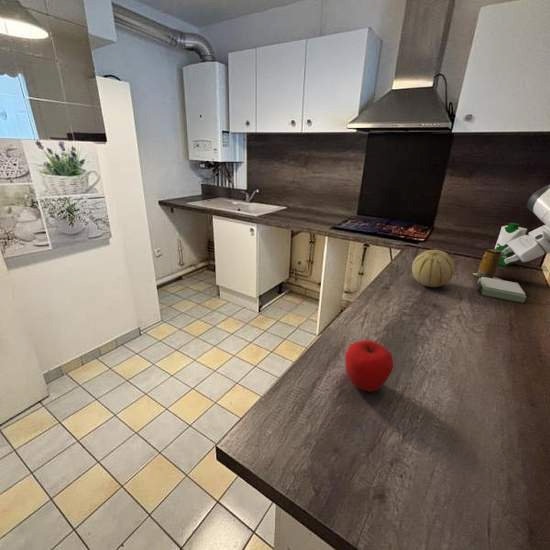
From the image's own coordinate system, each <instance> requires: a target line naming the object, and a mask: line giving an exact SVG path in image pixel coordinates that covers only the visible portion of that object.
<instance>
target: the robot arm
mask: <svg viewBox="0 0 550 550" xmlns="http://www.w3.org/2000/svg"><path fill="white" fill-rule="evenodd" d="M526 207H527V208H526V209H527V210H529V211H530V212H531V213H532V214H534V215H535V216H536V217H537V218H538V219H539V220H540V221H541V222H542V223H543V225H541V226H539V227H537V228H535V229H533V230H531V231H529V232H528V233H527V234H525V235H523V236H521V237H518V238H516V239H514V240H512V241H510V242H508V243H507V245H508V246H509V247H507V248H505V249H504V250H503V251H501V257H503V256H505V255H506V254H507V253H509V252H512V251H513V252H514V253H515V255H513V256H511V257H509V258H508V257H507V258H505V259H503V261H504V262H505V263H506V264H507V263H510V262H513V261H514V262H517V261H519V260H520V261H521V262H522V263H526V262H527V263H528V262H531V261H533V260H535V259H537V258H538V259H539V257H542V256H544V255H545V254H546V255H548V254H550V183H549V184H548V185H545V186H544V187H542V188H540V189H538V190H536V191H535V192H533V193H532V194H531V195H530V196H529V198H528V201H527V203H526Z"/></svg>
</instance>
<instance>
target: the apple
mask: <svg viewBox="0 0 550 550" xmlns="http://www.w3.org/2000/svg"><path fill="white" fill-rule="evenodd" d="M344 355H345V357H344V360H345V371H346V374H347V377H348V379H349V381H350V382H351V384H352V385H354V386H355V387H356V388H358V389H359V390H362V391H364V392H365V391H366V392H369V393H370V392H376V391H378V390H380V389H381V388H382V386H383V385H384V384H385V383H386V382H387V381H388V379H389V377H390V375H391V374H392V371H393V369H394V360H393V355H392V354H391V352H389V351H388V350H387V349H386V348H385V347H384V346H383V345H382V344H380V343H378V342H376V341H374V340H370V339H369V340H367V339H366V340H358V341H356V342H353V343H351V344H350V345H349V347H348V349H347V350H346V352H345V354H344Z"/></svg>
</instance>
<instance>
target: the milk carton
mask: <svg viewBox="0 0 550 550" xmlns="http://www.w3.org/2000/svg"><path fill="white" fill-rule="evenodd" d="M527 231H528V228H525V227H521V226H520V223H516V222H509V223H508V224H507V225H502V226H501V229H500V232H499V235H498V237H497V240H496V244H495V246H494V249H496V250H499V251H503V250H504V249H505V248H507V247H509V246H508V245H507V243H508V242H510V241H512V240H514V239H516V238H518V237H521V236H523V235H526V233H527ZM513 255H515V253H514V252H513V251H512V252H509V253H507V254H506V255H505V256H503V257H501V256H500V261H499V264H498V265H500V266H502V267H503V266H504V267H509V266H511V265H514V263H515V261H513V262H510V263H507V264H506V263H505V262H504V261H503V259H505V258H507V257H508V258H509V257H511V256H513Z"/></svg>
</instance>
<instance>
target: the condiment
mask: <svg viewBox="0 0 550 550" xmlns="http://www.w3.org/2000/svg"><path fill="white" fill-rule="evenodd" d="M500 256H501V251H499V250H496V249H495V248H487V249H486V250H485V253H484V254H483V255H482V258H481V261H480V263H479V266H478V270H477V272H472V273H471V274H472V275H474V276H476V277H478V278H481V277H487V278H492V279H498V280H502V278H499V277H496V276H495V275H496V272H497V269H498V266H499V265H500V264H499V261H500Z"/></svg>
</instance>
